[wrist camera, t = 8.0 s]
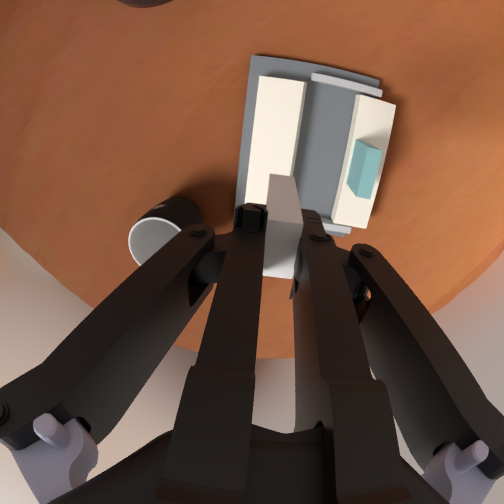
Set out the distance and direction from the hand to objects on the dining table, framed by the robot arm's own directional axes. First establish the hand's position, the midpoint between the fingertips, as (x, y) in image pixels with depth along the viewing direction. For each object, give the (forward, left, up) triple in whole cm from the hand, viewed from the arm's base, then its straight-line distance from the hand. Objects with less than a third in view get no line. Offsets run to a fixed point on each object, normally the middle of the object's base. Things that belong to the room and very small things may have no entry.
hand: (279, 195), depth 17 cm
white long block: (0, +12, -21) cm, 24 cm away
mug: (+14, -14, -23) cm, 30 cm away
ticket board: (0, +4, -23) cm, 23 cm away
